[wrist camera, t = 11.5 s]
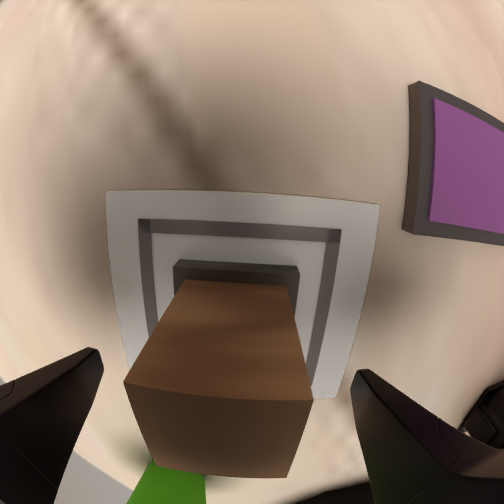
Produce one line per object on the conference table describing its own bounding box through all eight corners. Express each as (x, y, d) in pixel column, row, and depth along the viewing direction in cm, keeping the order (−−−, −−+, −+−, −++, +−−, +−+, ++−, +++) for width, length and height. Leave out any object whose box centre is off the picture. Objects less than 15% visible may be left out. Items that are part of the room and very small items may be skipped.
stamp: (296, 265, 11) (342, 381, 5) (284, 359, 13) (299, 482, 6) (179, 258, 11) (98, 359, 5) (185, 352, 13) (144, 468, 6)
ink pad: (512, 136, 9) (524, 136, 8) (504, 243, 11) (516, 248, 10) (408, 85, 9) (421, 79, 8) (401, 229, 11) (414, 235, 10)
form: (377, 204, 11) (381, 205, 10) (334, 394, 14) (335, 398, 14) (108, 190, 11) (104, 191, 10) (134, 380, 14) (132, 384, 14)
